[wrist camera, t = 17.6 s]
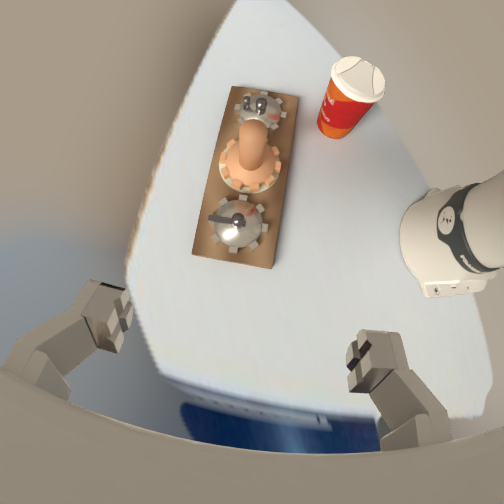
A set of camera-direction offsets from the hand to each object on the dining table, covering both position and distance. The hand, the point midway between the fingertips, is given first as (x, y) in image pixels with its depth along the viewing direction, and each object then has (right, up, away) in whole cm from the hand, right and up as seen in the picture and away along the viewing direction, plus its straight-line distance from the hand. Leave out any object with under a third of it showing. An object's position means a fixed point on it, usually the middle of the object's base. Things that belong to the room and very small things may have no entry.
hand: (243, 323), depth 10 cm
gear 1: (+1, +24, +33) cm, 41 cm away
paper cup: (+14, +23, +35) cm, 44 cm away
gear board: (0, +15, +33) cm, 36 cm away
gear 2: (-2, +6, +31) cm, 31 cm away
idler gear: (0, +15, +32) cm, 35 cm away
